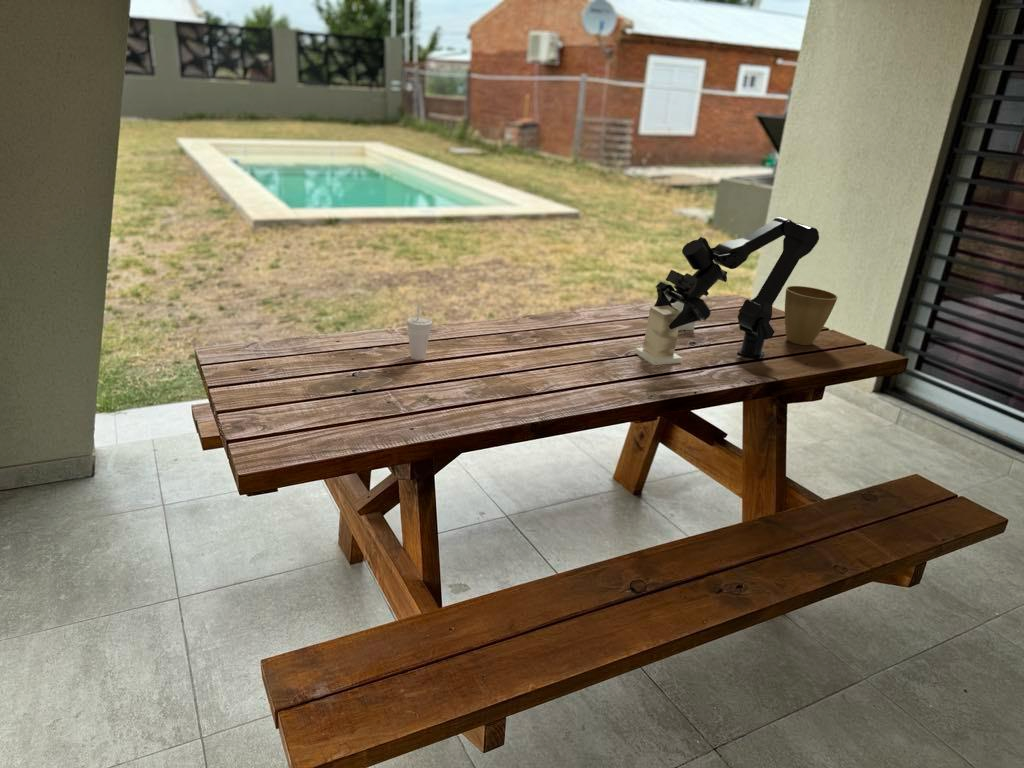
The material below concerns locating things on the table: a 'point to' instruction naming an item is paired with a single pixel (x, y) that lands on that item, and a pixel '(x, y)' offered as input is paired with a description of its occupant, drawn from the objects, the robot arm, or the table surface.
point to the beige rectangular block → (661, 331)
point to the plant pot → (806, 313)
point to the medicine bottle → (679, 306)
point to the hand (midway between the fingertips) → (660, 322)
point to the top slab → (660, 359)
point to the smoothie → (418, 335)
